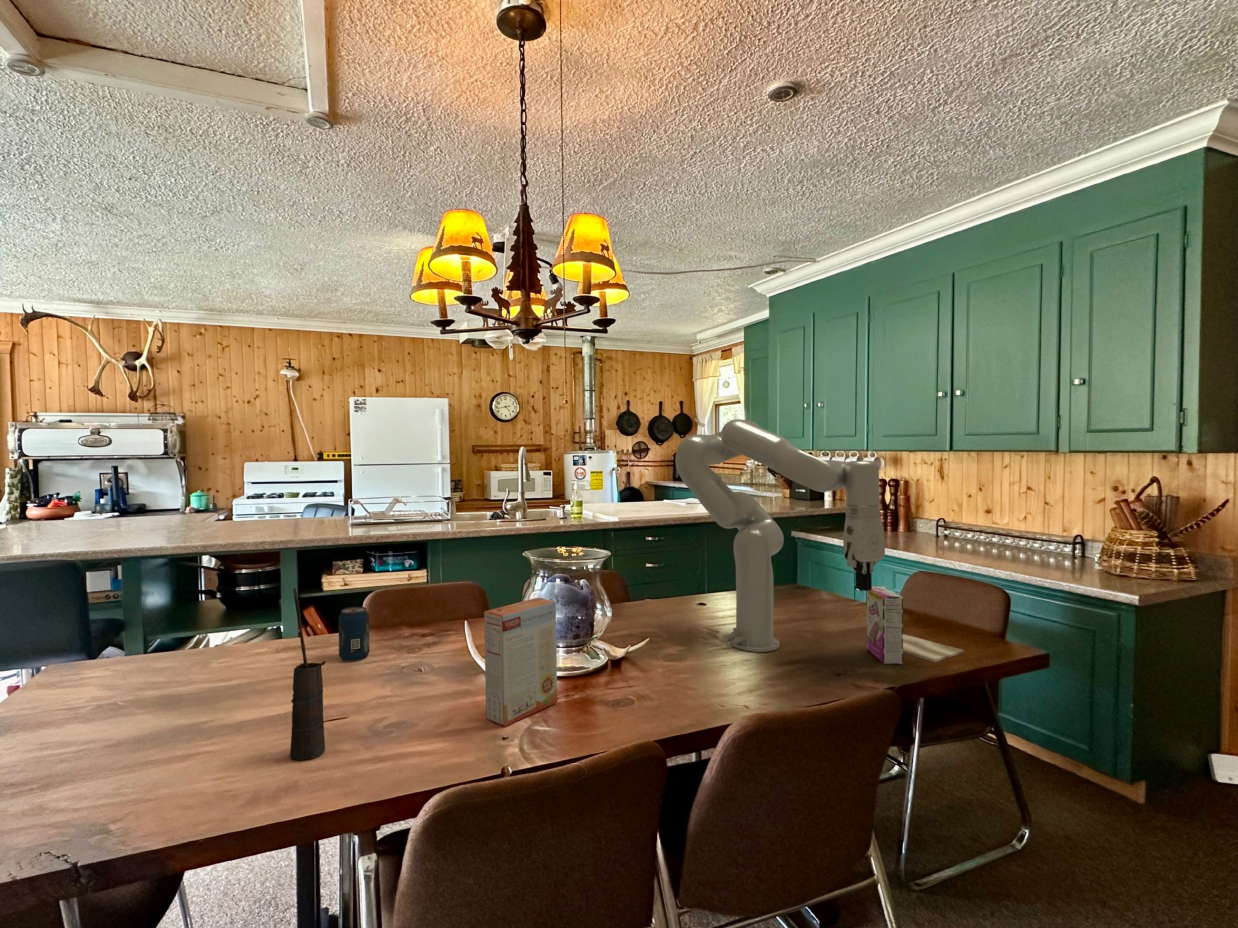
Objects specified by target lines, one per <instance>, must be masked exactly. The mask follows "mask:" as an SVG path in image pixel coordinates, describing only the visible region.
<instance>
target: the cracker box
mask: <svg viewBox="0 0 1238 928" xmlns="http://www.w3.org/2000/svg"><path fill="white" fill-rule="evenodd" d="M483 619H484V620H483V622H484V623H483V625H484V626H483V627H484V631H483V632H484V671H485V672H484V673H485V675H484V678H485V716H486V717H485V719H486V720H488V721H490V722H493V723H495V724H497V725H500V726H503V727H507V726H510V725H512V724H514V723H516V722H518V721H520V720H522V719H524V718H525V719H526V718H527V717H529V716H531V715H533V714H536V713H538V712H540V711H541V710H544V709H546V708H548V707H551V706H553V705H555V704H557V703H558V675H557V674H558V670H557V669H558V667H557V664H558V663H557V655H558V654H557V603H556V600H555V601H554V600H551V599H546V598H543V597H535V598H531V599H527V600H523V601H519V602H515V603H512V604H508V605H504V606H500V607H496V608H492V609H489V610H485V611H484V612H483Z"/></svg>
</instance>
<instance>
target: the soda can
mask: <svg viewBox="0 0 1238 928" xmlns="http://www.w3.org/2000/svg"><path fill="white" fill-rule="evenodd" d="M370 647H371V645H370V614H369V612H368V610H367V608H366V607H365V606H350V607H345V608H343V609H341V611H340V614H339V617H338V655H339V658H340V659H341V661H343V662H344V663H353V662H354V663H355V662H360V661H363V660H365V659H367V658H368V655H369V653H370V650H371V649H370Z"/></svg>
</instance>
